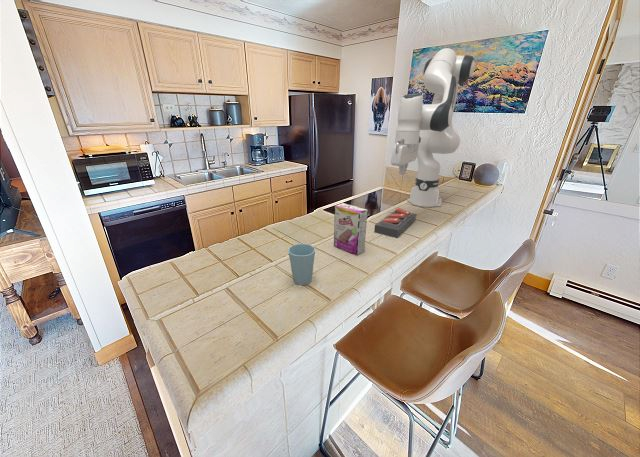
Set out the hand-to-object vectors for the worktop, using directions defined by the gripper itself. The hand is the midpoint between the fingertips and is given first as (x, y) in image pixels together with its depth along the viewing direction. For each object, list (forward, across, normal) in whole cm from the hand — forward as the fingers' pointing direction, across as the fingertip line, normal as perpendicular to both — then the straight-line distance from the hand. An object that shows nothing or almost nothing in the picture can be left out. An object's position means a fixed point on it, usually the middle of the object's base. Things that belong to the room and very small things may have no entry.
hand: (402, 174), depth 111 cm
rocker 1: (+19, -7, 0) cm, 20 cm away
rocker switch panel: (+23, +2, 0) cm, 24 cm away
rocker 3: (+18, +7, 0) cm, 20 cm away
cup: (+24, -58, +7) cm, 63 cm away
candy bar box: (+24, -32, +6) cm, 40 cm away
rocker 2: (+18, 0, 0) cm, 19 cm away
